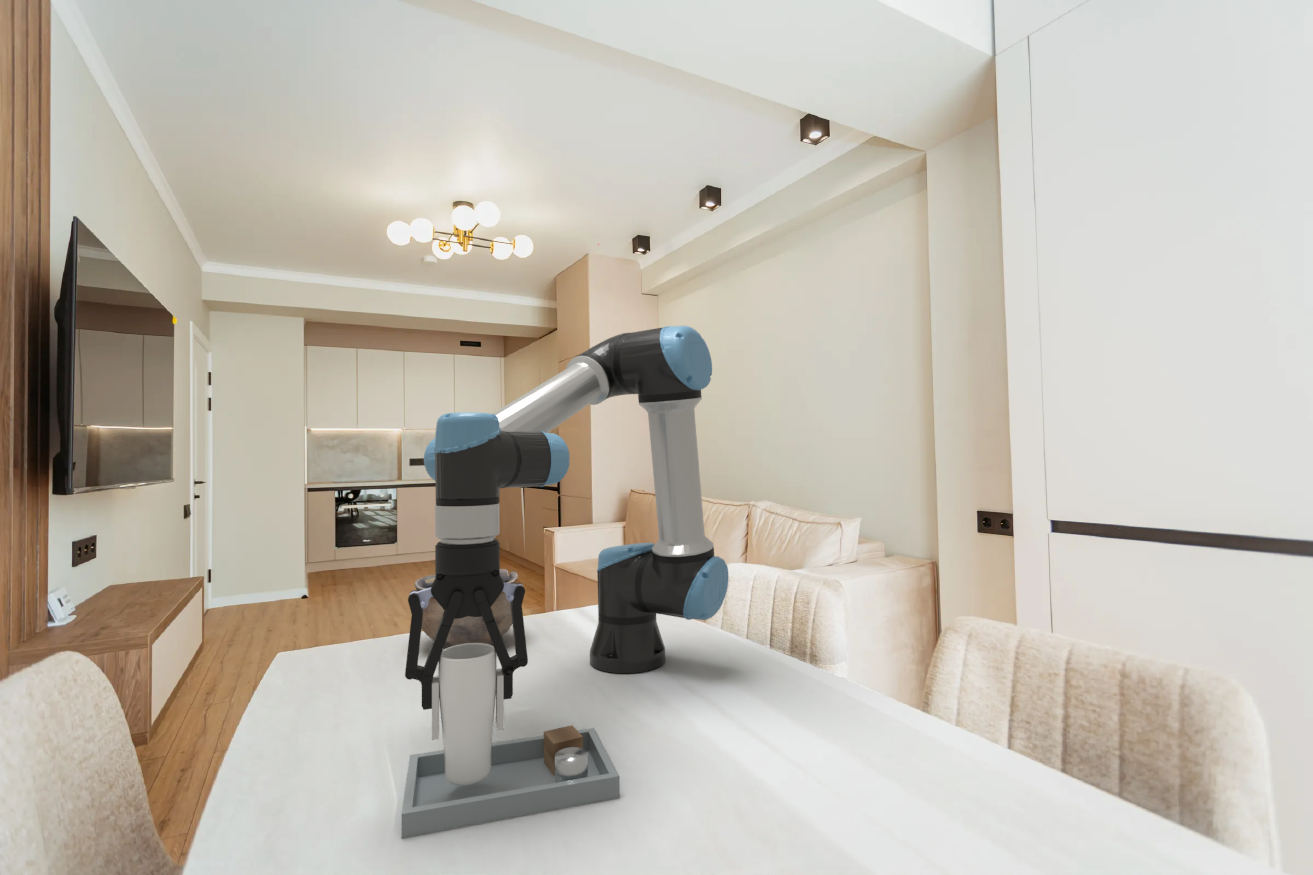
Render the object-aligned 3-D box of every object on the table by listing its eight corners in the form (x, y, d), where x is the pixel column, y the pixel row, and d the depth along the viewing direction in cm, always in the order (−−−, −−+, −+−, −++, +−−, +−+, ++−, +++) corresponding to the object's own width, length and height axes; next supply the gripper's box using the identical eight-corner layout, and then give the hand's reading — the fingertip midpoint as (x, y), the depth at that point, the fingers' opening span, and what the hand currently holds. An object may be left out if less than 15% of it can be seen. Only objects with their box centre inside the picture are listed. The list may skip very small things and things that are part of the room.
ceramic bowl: (538, 636, 144) (538, 570, 144) (482, 666, 123) (482, 589, 123) (457, 628, 151) (457, 565, 151) (391, 655, 130) (391, 583, 131)
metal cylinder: (584, 777, 79) (584, 744, 79) (591, 793, 75) (590, 759, 75) (552, 782, 78) (552, 749, 78) (557, 799, 74) (557, 764, 74)
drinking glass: (480, 793, 72) (480, 661, 72) (427, 788, 73) (426, 658, 73) (506, 764, 78) (505, 643, 79) (456, 760, 80) (456, 641, 80)
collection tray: (594, 749, 87) (594, 727, 88) (619, 802, 74) (619, 775, 74) (410, 779, 80) (410, 754, 80) (401, 843, 67) (401, 813, 67)
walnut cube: (572, 754, 85) (572, 725, 85) (583, 767, 81) (583, 736, 81) (543, 762, 83) (543, 731, 83) (553, 775, 79) (553, 743, 80)
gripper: (544, 531, 83) (545, 707, 82) (383, 539, 77) (383, 729, 76) (553, 538, 76) (554, 731, 75) (376, 547, 70) (375, 756, 69)
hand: (468, 729), depth 76 cm, fingers closed on drinking glass, 7 cm apart
